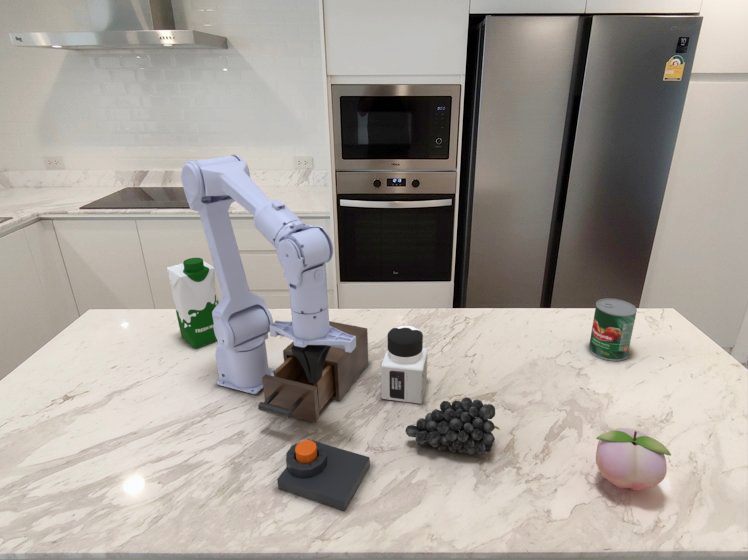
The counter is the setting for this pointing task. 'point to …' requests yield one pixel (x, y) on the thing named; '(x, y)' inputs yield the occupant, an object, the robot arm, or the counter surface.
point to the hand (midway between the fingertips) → (315, 379)
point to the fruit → (457, 427)
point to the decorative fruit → (631, 459)
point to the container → (404, 366)
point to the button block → (325, 475)
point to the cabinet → (344, 359)
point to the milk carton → (194, 300)
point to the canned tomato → (612, 329)
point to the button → (306, 451)
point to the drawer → (296, 391)
